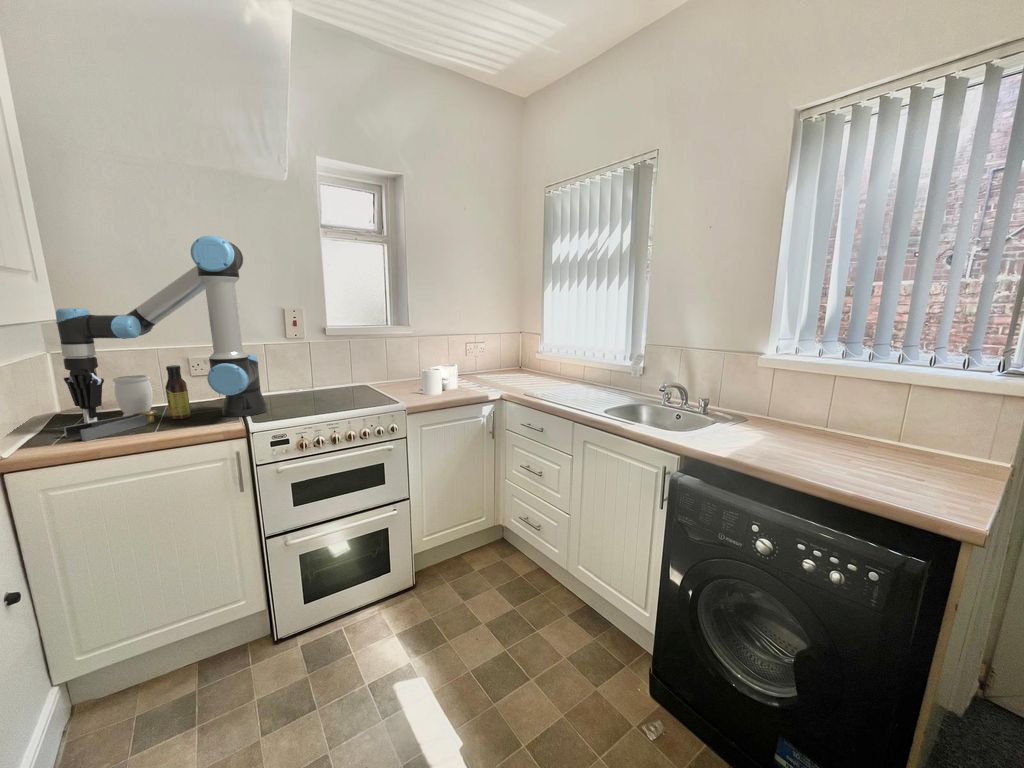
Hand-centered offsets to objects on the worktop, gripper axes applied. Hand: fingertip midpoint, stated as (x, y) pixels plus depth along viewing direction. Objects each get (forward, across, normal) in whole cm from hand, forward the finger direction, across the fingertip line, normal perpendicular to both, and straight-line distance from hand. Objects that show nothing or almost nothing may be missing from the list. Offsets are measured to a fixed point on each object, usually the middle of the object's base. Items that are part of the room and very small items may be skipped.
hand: (91, 427), depth 138 cm
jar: (+2, +6, -19) cm, 20 cm away
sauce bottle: (+2, -12, -20) cm, 24 cm away
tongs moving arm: (+1, -4, -4) cm, 6 cm away
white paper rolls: (0, -90, -91) cm, 128 cm away
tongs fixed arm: (+1, -8, -3) cm, 8 cm away
